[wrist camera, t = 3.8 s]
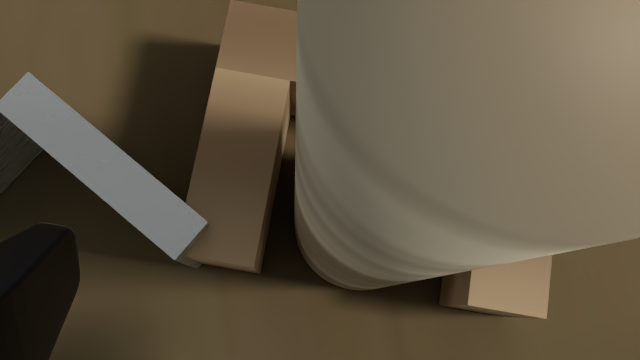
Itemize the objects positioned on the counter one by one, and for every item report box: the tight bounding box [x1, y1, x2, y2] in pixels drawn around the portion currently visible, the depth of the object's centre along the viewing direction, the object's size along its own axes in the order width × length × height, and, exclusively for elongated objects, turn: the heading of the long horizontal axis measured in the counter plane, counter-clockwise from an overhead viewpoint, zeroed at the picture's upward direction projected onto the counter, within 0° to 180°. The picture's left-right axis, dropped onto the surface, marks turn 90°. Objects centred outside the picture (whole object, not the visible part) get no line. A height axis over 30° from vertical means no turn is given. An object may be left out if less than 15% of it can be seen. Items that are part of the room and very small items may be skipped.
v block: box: [0, 72, 210, 269], centre depth 16 cm, size 5×10×4 cm, turn 96°
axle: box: [294, 0, 640, 290], centre depth 11 cm, size 4×4×14 cm
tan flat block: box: [184, 0, 552, 319], centre depth 17 cm, size 7×9×3 cm
